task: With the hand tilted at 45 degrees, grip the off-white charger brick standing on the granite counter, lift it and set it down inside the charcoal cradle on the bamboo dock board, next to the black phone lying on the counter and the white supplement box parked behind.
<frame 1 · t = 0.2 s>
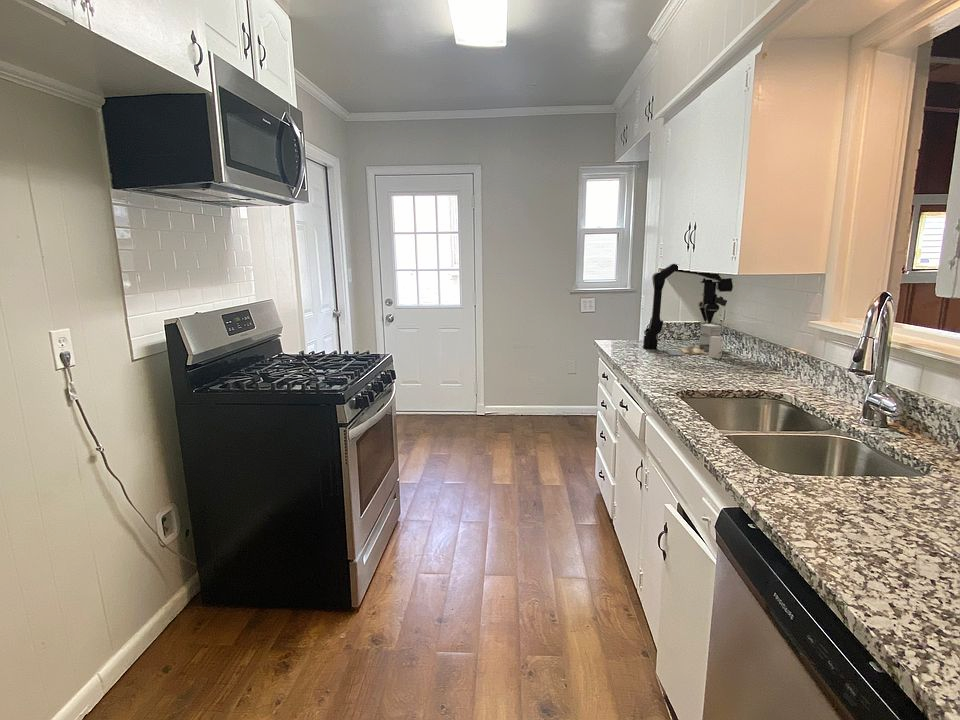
hand: (707, 322, 269), 15 cm above the worktop, tool pointing down, fingers open, 9 cm apart
charger: (714, 357, 255), on the worktop
phone: (674, 354, 262), on the worktop
supplement box: (708, 348, 277), on the worktop
dock station: (700, 352, 267), on the worktop
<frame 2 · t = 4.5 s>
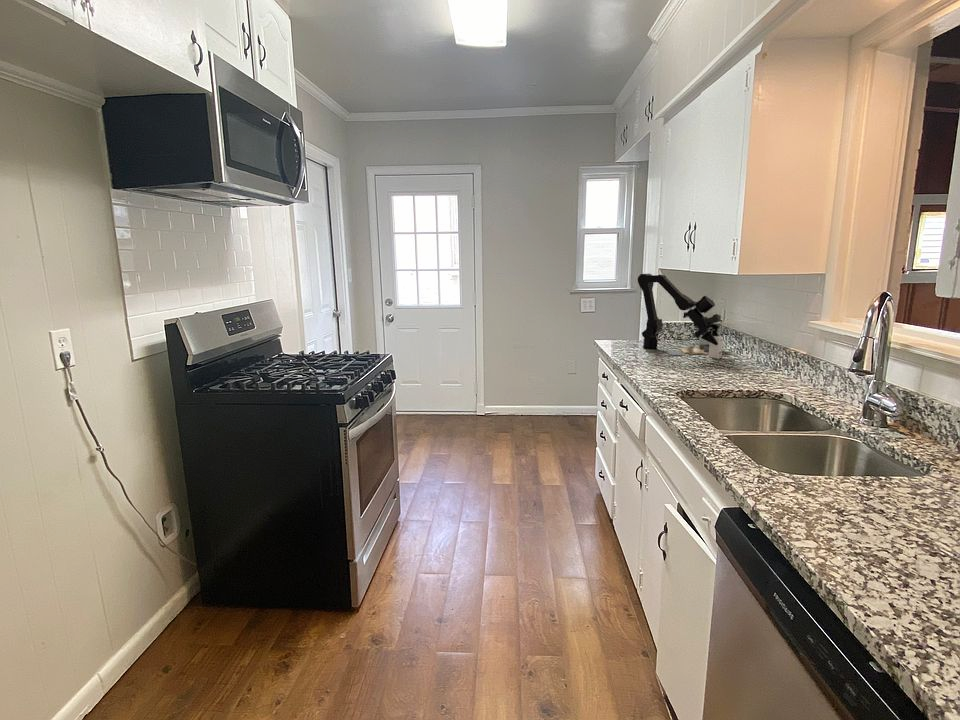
hand: (719, 344, 252), 7 cm above the worktop, tool tilted 45°, fingers closed on charger, 4 cm apart
charger: (714, 357, 255), on the worktop, touching gripper
everything else where it was.
when the fingers open (9 cm above the worktop, at t = 8.1 s): charger drops 1 cm, resting on dock station.
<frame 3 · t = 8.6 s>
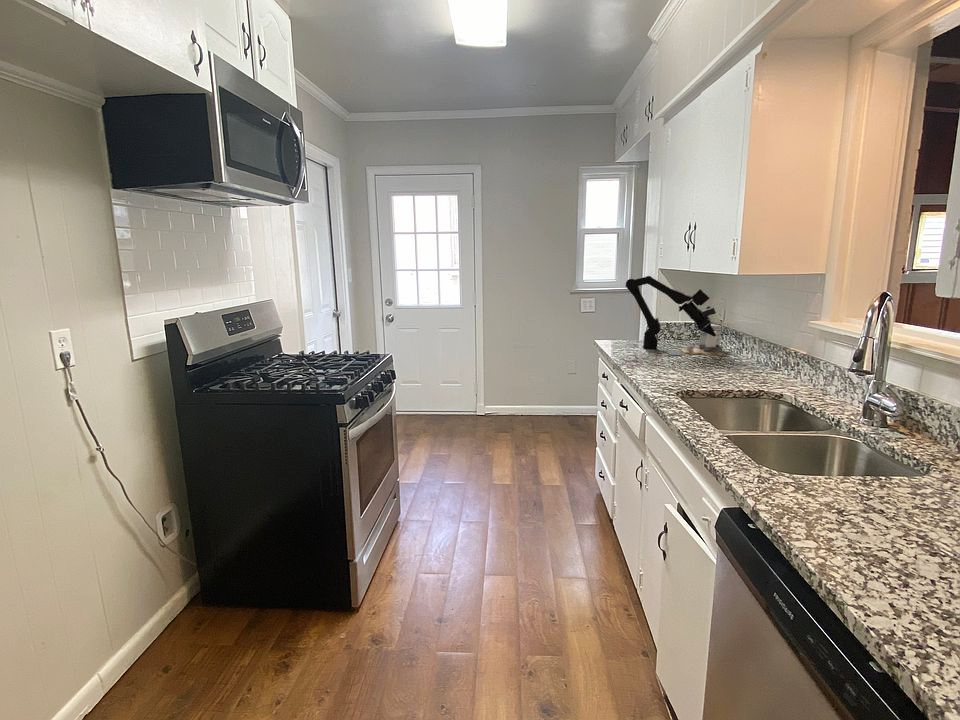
hand: (715, 334, 264), 9 cm above the worktop, tool tilted 45°, fingers open, 8 cm apart
charger: (710, 350, 267), point 1 cm above the worktop, touching dock station
supplement box: (708, 348, 277), on the worktop, touching gripper
everything else where it was.
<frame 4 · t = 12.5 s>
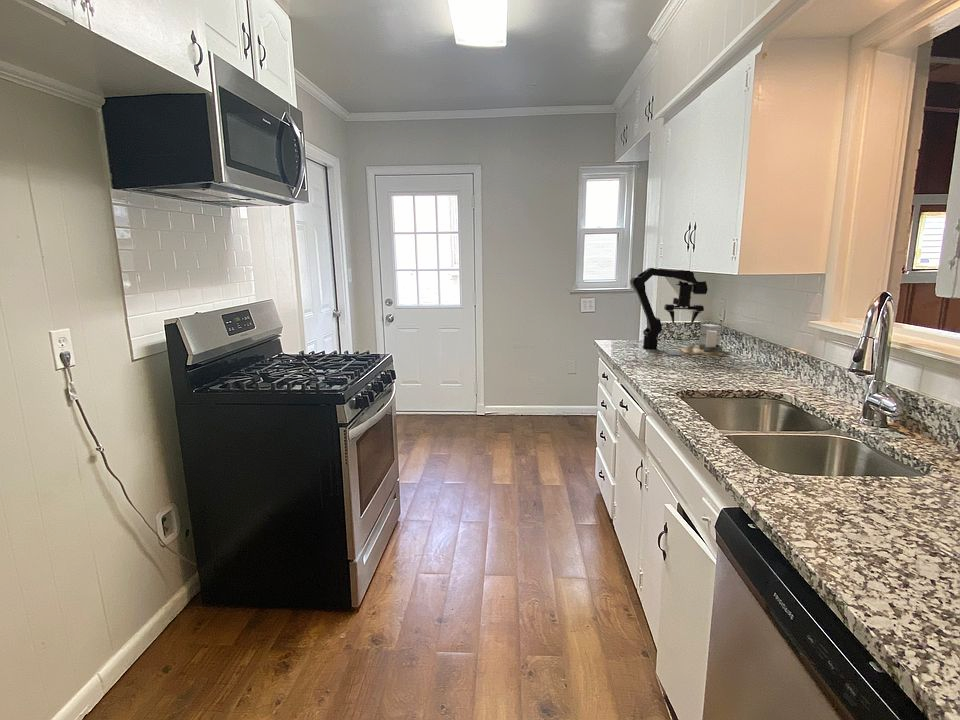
hand: (682, 324, 274), 13 cm above the worktop, tool pointing down, fingers open, 9 cm apart
supplement box: (708, 348, 277), on the worktop
everything else where it was.
at the end: charger 0.0 cm from the target spot on the dock station, point 0.8 cm above the dock station's base; charger tilted 0°; the gripper is holding nothing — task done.
